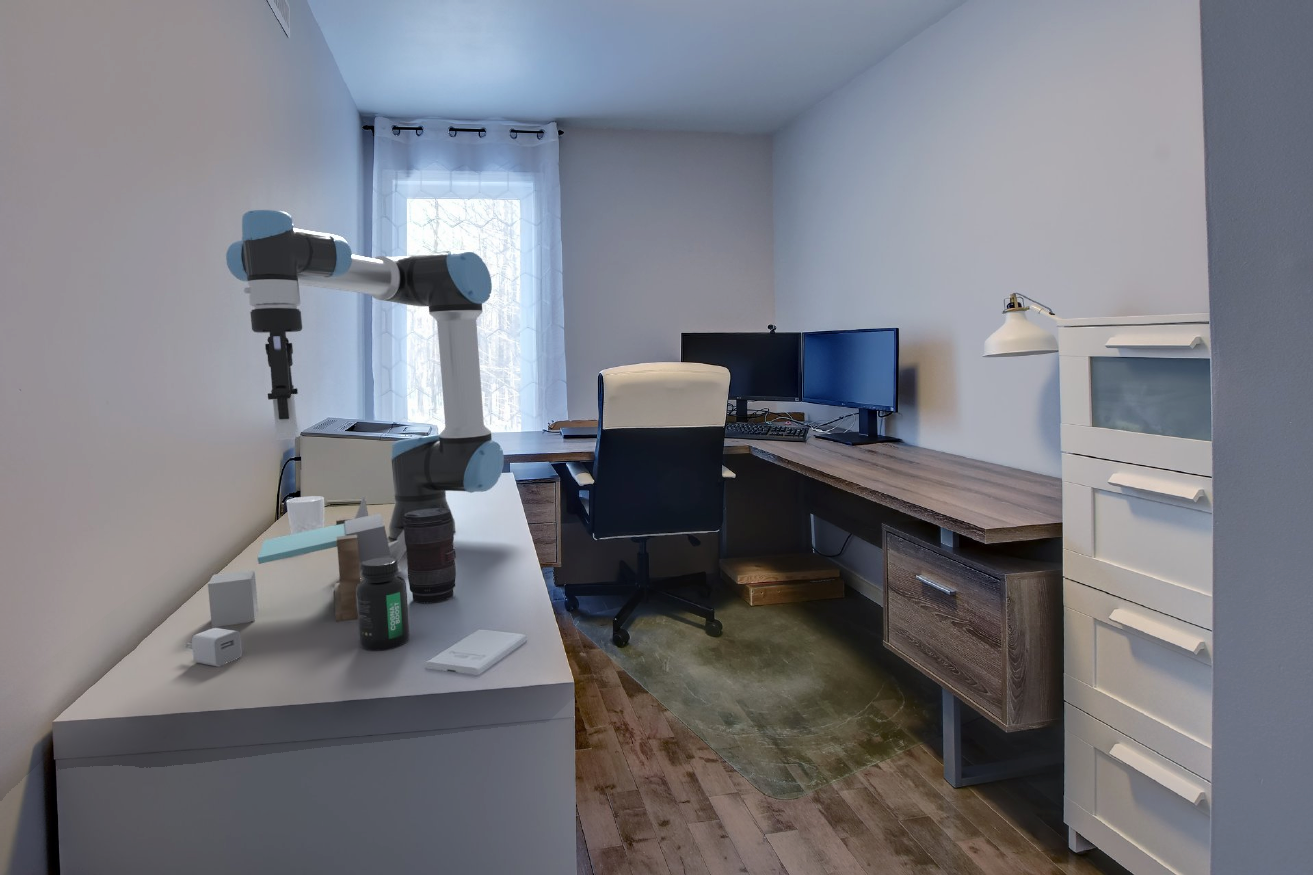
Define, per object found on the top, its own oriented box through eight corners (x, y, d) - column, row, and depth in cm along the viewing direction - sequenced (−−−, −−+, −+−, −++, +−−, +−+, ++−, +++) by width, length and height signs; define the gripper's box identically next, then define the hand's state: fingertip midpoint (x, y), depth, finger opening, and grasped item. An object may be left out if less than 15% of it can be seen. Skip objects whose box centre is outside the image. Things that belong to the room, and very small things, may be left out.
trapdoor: (385, 539, 139) (380, 512, 138) (390, 556, 126) (384, 526, 126) (269, 565, 132) (263, 537, 131) (263, 585, 119) (256, 554, 119)
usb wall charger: (215, 668, 104) (213, 639, 103) (181, 661, 107) (178, 633, 106) (242, 657, 108) (239, 629, 107) (208, 651, 110) (205, 624, 110)
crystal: (408, 575, 147) (403, 498, 145) (335, 581, 144) (329, 503, 143) (414, 562, 156) (409, 490, 155) (346, 568, 154) (340, 494, 152)
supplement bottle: (409, 647, 109) (403, 564, 108) (357, 654, 107) (351, 570, 106) (410, 631, 116) (405, 553, 114) (361, 637, 114) (356, 558, 112)
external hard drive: (526, 645, 110) (478, 679, 99) (477, 639, 113) (425, 672, 102) (526, 634, 110) (477, 667, 99) (477, 628, 113) (424, 660, 101)
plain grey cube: (213, 574, 125) (217, 616, 126) (207, 584, 120) (211, 627, 120) (254, 569, 128) (258, 610, 128) (251, 578, 122) (254, 621, 123)
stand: (364, 585, 141) (359, 515, 139) (369, 616, 123) (364, 536, 122) (335, 589, 139) (329, 518, 137) (336, 621, 121) (329, 540, 120)
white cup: (317, 545, 174) (314, 501, 173) (283, 546, 175) (279, 502, 174) (332, 537, 182) (329, 495, 181) (299, 538, 182) (296, 496, 181)
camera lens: (442, 587, 138) (437, 505, 136) (466, 596, 132) (461, 510, 131) (400, 598, 132) (394, 512, 131) (423, 608, 127) (417, 518, 125)
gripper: (255, 312, 137) (267, 431, 139) (243, 303, 114) (257, 445, 117) (301, 311, 140) (312, 427, 142) (298, 302, 117) (311, 441, 119)
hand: (287, 436), depth 129 cm, fingers open, 13 cm apart
